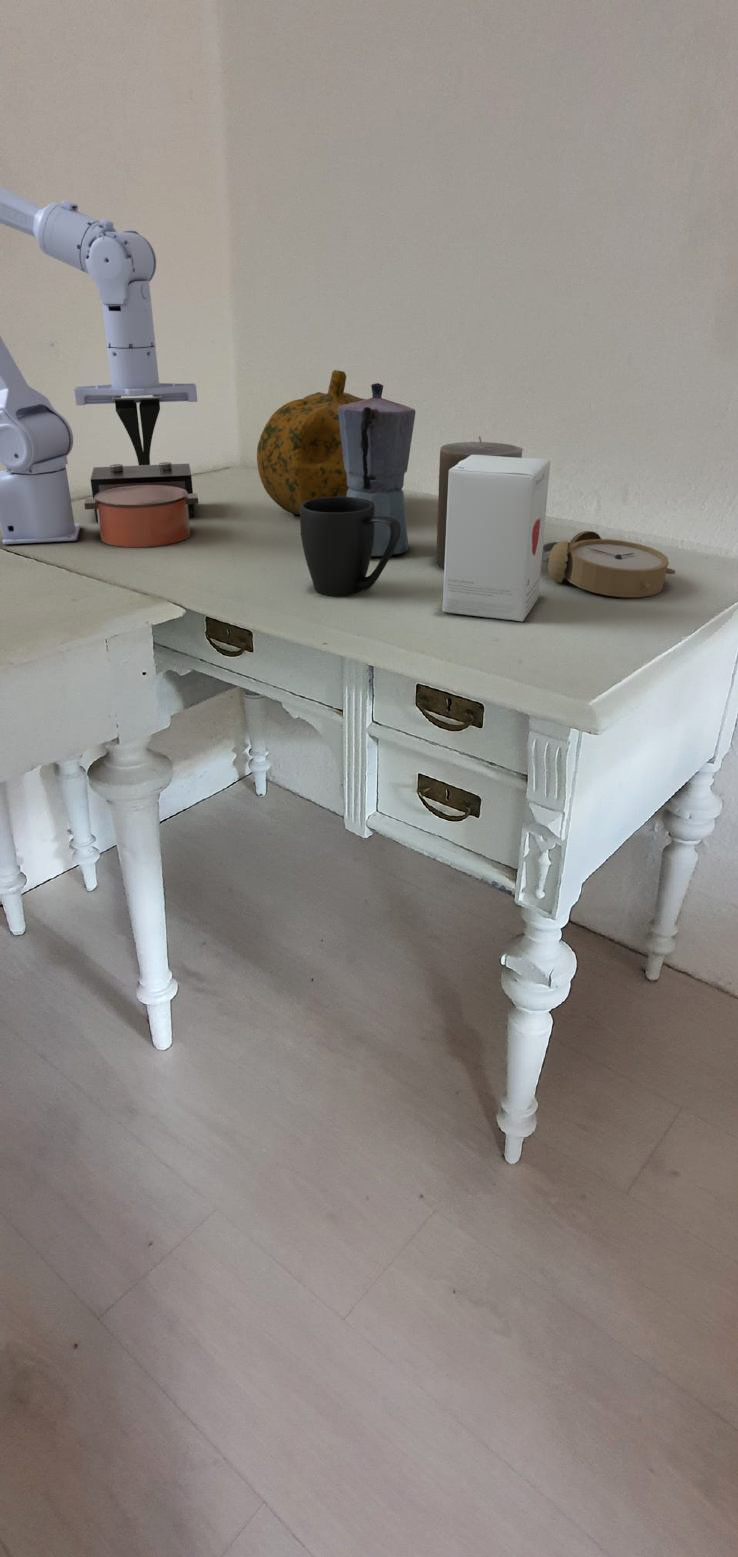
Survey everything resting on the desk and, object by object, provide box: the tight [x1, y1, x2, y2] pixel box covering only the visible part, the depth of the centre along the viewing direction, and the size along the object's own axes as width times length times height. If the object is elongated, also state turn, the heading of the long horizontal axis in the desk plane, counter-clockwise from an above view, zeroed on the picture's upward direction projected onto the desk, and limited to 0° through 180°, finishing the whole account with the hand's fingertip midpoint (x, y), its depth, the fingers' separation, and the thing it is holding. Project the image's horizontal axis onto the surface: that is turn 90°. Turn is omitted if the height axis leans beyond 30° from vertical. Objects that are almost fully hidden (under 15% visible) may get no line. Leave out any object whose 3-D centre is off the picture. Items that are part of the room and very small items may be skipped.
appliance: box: [90, 461, 196, 523], centre depth 142 cm, size 14×9×7 cm, turn 101°
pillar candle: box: [436, 435, 524, 569], centre depth 116 cm, size 10×10×15 cm
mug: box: [299, 497, 400, 597], centre depth 107 cm, size 8×12×10 cm
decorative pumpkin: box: [256, 369, 367, 516], centre depth 138 cm, size 20×21×20 cm
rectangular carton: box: [442, 455, 551, 622], centre depth 101 cm, size 9×9×15 cm
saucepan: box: [83, 485, 199, 548], centre depth 130 cm, size 15×12×6 cm
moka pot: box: [338, 382, 416, 557], centre depth 119 cm, size 10×15×20 cm, turn 174°
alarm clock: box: [542, 530, 676, 598], centre depth 112 cm, size 11×5×15 cm
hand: (144, 463), depth 122 cm, fingers closed
